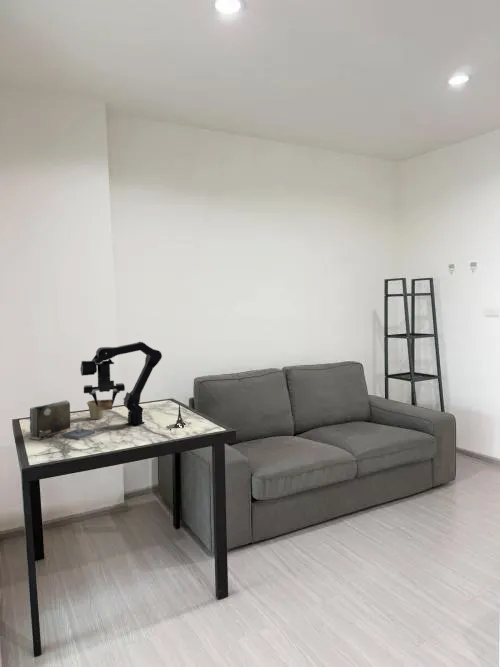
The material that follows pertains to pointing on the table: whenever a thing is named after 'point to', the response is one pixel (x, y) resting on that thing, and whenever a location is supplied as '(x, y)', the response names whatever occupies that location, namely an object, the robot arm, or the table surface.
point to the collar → (105, 404)
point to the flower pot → (94, 410)
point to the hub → (78, 433)
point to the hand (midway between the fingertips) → (104, 405)
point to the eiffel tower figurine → (177, 421)
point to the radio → (49, 419)
